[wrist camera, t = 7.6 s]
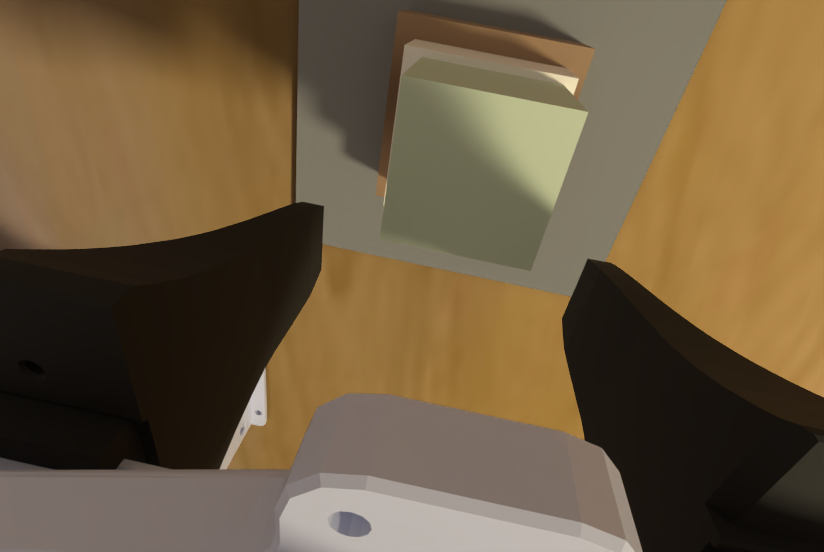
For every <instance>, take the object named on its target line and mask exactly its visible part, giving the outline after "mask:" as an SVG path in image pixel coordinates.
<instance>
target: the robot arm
mask: <svg viewBox="0 0 824 552" xmlns="http://www.w3.org/2000/svg"><path fill="white" fill-rule="evenodd" d="M323 219H324V206H322V205H317V204H312V203H307V202H298V203H294V204H291V205H288V206H285V207H282V208H280V209H277V210H274V211H271V212H269V213H266V214H263V215H260V216H258V217H255V218H252V219H249V220H246V221H243V222H240V223H237V224H234V225H230V226H227V227H224V228H221V229H218V230H214V231H210V232H206V233H202V234H198V235H193V236H189V237H184V238H179V239H174V240H167V241H160V242H153V243H146V244H139V245H131V246H121V247H109V248H92V249H67V250H29V249H4V250H1V251H0V552H824V397H821V396H819V395H817V394H815V393H812V392H810V391H808V390H806V389H804V388H802V387H800V386H798V385H796V384H794V383H792V382H790V381H788V380H786V379H784V378H782V377H780V376H778V375H776V374H774V373H772V372H770V371H768V370H767V369H765V368H763V367H761V366H759V365H757V364H755V363H753V362H752V361H750V360H748V359H746V358H745V357H743V356H741V355H739V354H738V353H736V352H735V351H733V350H731V349H730V348H728V347H726V346H725V345H723V344H722V343H720V342H718V341H717V340H715V339H713V338H712V337H710V336H709V335H707V334H706V333H704V332H703V331H701V330H700V329H699V328H697V327H696V326H694V325H693V324H692V323H690V322H689V321H687V320H686V319H685V318H683V317H682V316H680V315H679V314H678V313H676V312H675V311H674V310H672V309H671V308H670V307H668V306H667V305H666V304H665V303H663V302H662V301H661V300H660V299H658V298H657V297H656V296H655V295H653V294H652V293H651V292H650V291H648V290H647V289H646V288H645V287H643V286H642V285H641V284H640V283H638V282H637V281H636V280H635V279H633V278H632V277H631V276H629V275H628V274H627V273H625V272H624V271H623V270H621V269H620V268H618V267H617V266H615V265H613V264H612V263H608V262H603V261H598V260H593V259H587V261H586V264H585V266H584V268H583V271H582V273H581V275H580V278H579V280H578V282H577V285H576V287H575V290H574V292H573V294H572V297H571V299H570V301H569V304H568V306H567V308H566V311H565V313H564V315H563V318H562V326H563V341H564V350H565V355H566V359H567V363H568V368H569V372H570V376H571V380H572V384H573V388H574V392H575V396H576V400H577V404H578V408H579V412H580V417H581V421H582V426H583V431H584V437H585V441H584V440H582V439H579V438H577V437H575V436H572V435H570V434H568V433H565V432H563V431H559V430H555V429H550V428H545V427H540V426H536V425H531V424H526V423H522V422H517V421H512V420H508V419H503V418H498V417H494V416H489V415H484V414H480V413H475V412H470V411H465V410H461V409H456V408H451V407H447V406H442V405H437V404H433V403H428V402H423V401H419V400H414V399H409V398H404V397H400V396H395V395H390V394H366V393H348V394H345V395H343V396H341V397H339V398H336V399H334V400H332V401H330V402H328V403H325V404H323V405H321V406H319V407H317V409H316V412H315V414H314V416H313V418H312V420H311V422H310V424H309V426H308V428H307V430H306V433H305V435H304V438H303V440H302V442H301V445H300V447H299V450H298V452H297V455H296V457H295V459H294V462H293V464H292V467H291V469H227V467H228V465H229V463H230V462H231V460H232V458H233V456H234V454H235V453H236V451H237V449H238V447H239V445H240V444H241V442H242V440H243V438H244V436H245V434H246V433H247V431H248V429H249V427H250V425H251V424H254V425H258V426H263V425H265V423H266V422H267V398H266V368H265V367H266V365H267V364H268V362H269V360H270V358H271V357H272V355H273V353H274V352H275V350H276V349H277V347H278V345H279V344H280V342H281V341H282V339H283V338H284V336H285V335H286V333H287V331H288V330H289V328H290V327H291V325H292V324H293V322H294V320H295V319H296V317H297V316H298V314H299V313H300V311H301V309H302V308H303V306H304V305H305V303H306V301H307V300H308V298H309V296H310V294H311V292H312V290H313V288H314V285H315V283H316V281H317V278H318V276H319V273H320V271H321V263H322V241H323Z"/></svg>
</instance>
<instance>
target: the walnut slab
mask: <svg viewBox="0 0 824 552" xmlns="http://www.w3.org/2000/svg"><path fill="white" fill-rule="evenodd" d="M414 39H418V40H423V41H428V42H434V43H439V44H444V45H449V46H454V47H460V48H465V49H470V50H475V51H480V52H486V53H491V54H496V55H501V56H506V57H511V58H517V59H522V60H527V61H532V62H537V63H543V64H548V65H553V66H558V67H563V68H567V69H568V70H569V71H571V72H572V73H573V74H574V75H575V76H577V77H578V78H579V80H578V83H577V86H576V89H575V92H574V95H573V96H574V97H575V98H576V99H577V100H578V98H579V95H580V93H581V90H582V87H583V84H584V81H585V78H586V75H587V72H588V69H589V67H590V64H591V61H592V58H593V55H594V52H595V48H592V47H590V46H588V45H586V44H583V43H579V42H574V41H569V40H564V39H558V38H553V37H548V36H543V35H537V34H532V33H527V32H522V31H517V30H511V29H506V28H501V27H496V26H490V25H485V24H480V23H475V22H469V21H464V20H459V19H454V18H448V17H443V16H438V15H433V14H427V13H422V12H417V11H412V10H403V11H398V14H397V22H396V30H395V39H394V47H393V55H392V63H391V72H390V80H389V88H388V97H387V105H386V113H385V122H384V130H383V138H382V147H381V155H380V163H379V171H378V180H377V188H376V196H381V197H384V196H385V189H386V181H387V174H388V166H389V159H390V151H391V143H392V136H393V128H394V121H395V113H396V105H397V98H398V90H399V83H400V75H401V68H402V60H403V52H404V45H405V44H407V43H409V42H411V41H412V40H414Z"/></svg>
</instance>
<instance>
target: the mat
mask: <svg viewBox="0 0 824 552" xmlns="http://www.w3.org/2000/svg"><path fill="white" fill-rule="evenodd" d="M726 1H727V0H299V19H298V87H297V155H296V203H298V202H307V203H312V204H317V205H322V206H324V219H323V241H322V244H325V245H329V246H334V247H339V248H343V249H348V250H353V251H358V252H362V253H367V254H372V255H377V256H381V257H386V258H391V259H396V260H400V261H405V262H410V263H415V264H419V265H424V266H429V267H434V268H438V269H443V270H448V271H453V272H457V273H462V274H467V275H471V276H476V277H481V278H486V279H490V280H495V281H500V282H505V283H509V284H514V285H519V286H524V287H528V288H533V289H538V290H543V291H547V292H552V293H557V294H562V295H566V296H571V297H572V294H573V292H574V290H575V287H576V285H577V282H578V280H579V278H580V275H581V273H582V271H583V268H584V266H585V264H586V261H587V259H593V260H598V261H603V262H605V261H606V259H607V256H608V254H609V252H610V250H611V248H612V246H613V244H614V241H615V239H616V237H617V235H618V233H619V231H620V229H621V226H622V224H623V222H624V220H625V218H626V216H627V214H628V211H629V209H630V207H631V205H632V203H633V201H634V198H635V196H636V194H637V192H638V190H639V188H640V186H641V183H642V181H643V179H644V177H645V175H646V173H647V171H648V168H649V166H650V164H651V162H652V160H653V158H654V156H655V153H656V151H657V149H658V147H659V145H660V143H661V141H662V138H663V136H664V134H665V132H666V130H667V128H668V126H669V123H670V121H671V119H672V117H673V115H674V113H675V110H676V108H677V106H678V104H679V102H680V100H681V98H682V95H683V93H684V91H685V89H686V87H687V85H688V83H689V80H690V78H691V76H692V74H693V72H694V70H695V68H696V65H697V63H698V61H699V59H700V57H701V55H702V53H703V50H704V48H705V46H706V44H707V42H708V40H709V38H710V35H711V33H712V31H713V29H714V27H715V25H716V22H717V20H718V18H719V16H720V14H721V12H722V10H723V7H724V5H725V3H726ZM403 10H412V11H417V12H422V13H427V14H433V15H438V16H443V17H448V18H454V19H459V20H464V21H469V22H475V23H480V24H485V25H490V26H496V27H501V28H506V29H511V30H517V31H522V32H527V33H532V34H537V35H543V36H548V37H553V38H558V39H564V40H569V41H574V42H579V43H583V44H586V45H588V46H590V47H592V48H595V52H594V55H593V58H592V61H591V64H590V67H589V69H588V72H587V75H586V78H585V81H584V84H583V87H582V90H581V93H580V95H579V98H578V101H579V102H580V103H581V104H582V105H583V107H584V108H585V109H586V110H587V111H588V115H587V118H586V120H585V123H584V126H583V129H582V131H581V134H580V137H579V140H578V142H577V145H576V148H575V151H574V153H573V156H572V159H571V162H570V164H569V167H568V170H567V173H566V175H565V178H564V181H563V184H562V186H561V189H560V192H559V195H558V197H557V200H556V203H555V206H554V208H553V211H552V214H551V217H550V219H549V222H548V225H547V228H546V230H545V233H544V236H543V239H542V241H541V244H540V247H539V250H538V252H537V255H536V258H535V261H534V263H533V266H532V269H531V271H528V270H523V269H518V268H514V267H509V266H504V265H499V264H495V263H490V262H485V261H480V260H475V259H471V258H466V257H461V256H456V255H452V254H447V253H442V252H437V251H433V250H428V249H423V248H418V247H414V246H409V245H404V244H399V243H395V242H390V241H385V240H380V233H381V225H382V218H383V210H384V206H383V204H384V197H381V196H376V188H377V180H378V171H379V163H380V155H381V147H382V138H383V130H384V122H385V113H386V105H387V97H388V88H389V80H390V72H391V63H392V55H393V47H394V39H395V30H396V22H397V14H398V11H403Z"/></svg>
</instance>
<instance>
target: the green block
mask: <svg viewBox="0 0 824 552" xmlns="http://www.w3.org/2000/svg"><path fill="white" fill-rule="evenodd" d="M587 115H588V111H587V110H586V109H585V108H584V107H583V105H582V104H581V103H580V102H579V101H578V100H577V99H576V98H575V97H574V96H573V94H572V93H571V92H570V91H569V90H568V89H567V88H566V87H565V86H564V85H563V84H558V83H552V82H547V81H542V80H537V79H532V78H527V77H522V76H517V75H511V74H506V73H501V72H496V71H491V70H486V69H481V68H476V67H470V66H465V65H460V64H455V63H450V62H445V61H440V60H435V59H429V58H424V57H422V58H420V59H419V60H418V61H417V62H416V63H415V64H414V65H413V66H411V67H410V68H409V69H408V70H407V71H406V72H405V73H404V74H402V76H401V84H400V91H399V99H398V106H397V114H396V121H395V129H394V136H393V143H392V151H391V158H390V166H389V173H388V181H387V188H386V196H385V203H384V210H383V218H382V225H381V233H380V240H385V241H390V242H395V243H399V244H404V245H409V246H414V247H418V248H423V249H428V250H433V251H437V252H442V253H447V254H452V255H456V256H461V257H466V258H471V259H475V260H480V261H485V262H490V263H495V264H499V265H504V266H509V267H514V268H518V269H523V270H528V271H531V269H532V266H533V263H534V261H535V258H536V255H537V252H538V250H539V247H540V244H541V241H542V239H543V236H544V233H545V230H546V228H547V225H548V222H549V219H550V217H551V214H552V211H553V208H554V206H555V203H556V200H557V197H558V195H559V192H560V189H561V186H562V184H563V181H564V178H565V175H566V173H567V170H568V167H569V164H570V162H571V159H572V156H573V153H574V151H575V148H576V145H577V142H578V140H579V137H580V134H581V131H582V129H583V126H584V123H585V120H586V118H587Z"/></svg>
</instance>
